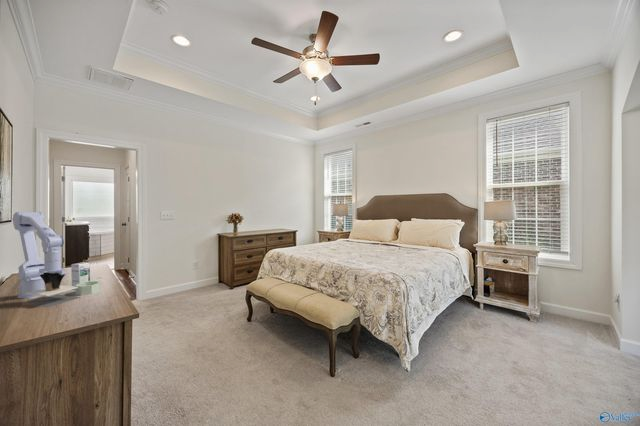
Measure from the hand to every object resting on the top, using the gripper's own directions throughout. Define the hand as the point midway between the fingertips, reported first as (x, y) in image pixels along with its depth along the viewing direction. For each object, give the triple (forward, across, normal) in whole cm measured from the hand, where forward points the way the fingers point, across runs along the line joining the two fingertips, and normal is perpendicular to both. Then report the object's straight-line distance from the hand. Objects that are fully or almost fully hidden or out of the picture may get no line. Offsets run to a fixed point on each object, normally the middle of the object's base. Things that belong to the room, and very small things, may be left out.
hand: (52, 287), depth 128 cm
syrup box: (+7, -9, +19) cm, 22 cm away
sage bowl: (+7, +3, +14) cm, 16 cm away
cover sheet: (+2, 0, 0) cm, 2 cm away
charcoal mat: (+7, 0, 0) cm, 7 cm away
